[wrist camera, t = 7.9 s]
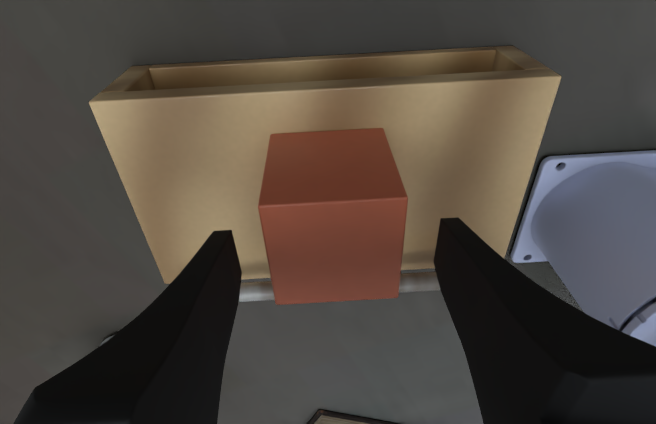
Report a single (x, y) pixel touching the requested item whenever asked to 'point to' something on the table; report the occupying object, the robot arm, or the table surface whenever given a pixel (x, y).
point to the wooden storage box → (326, 115)
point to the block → (332, 216)
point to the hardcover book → (341, 419)
